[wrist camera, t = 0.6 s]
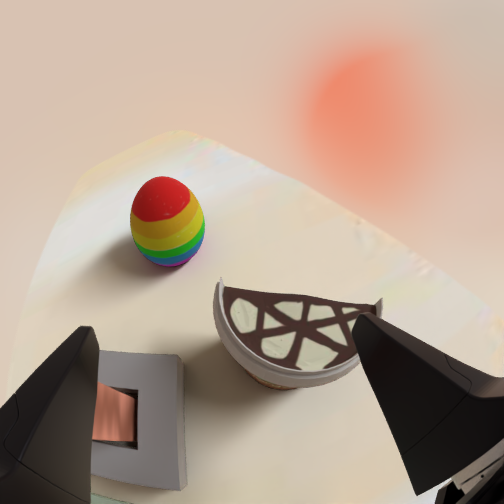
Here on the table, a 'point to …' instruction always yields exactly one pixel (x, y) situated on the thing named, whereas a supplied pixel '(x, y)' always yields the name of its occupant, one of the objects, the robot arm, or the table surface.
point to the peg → (115, 415)
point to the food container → (288, 335)
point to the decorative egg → (167, 222)
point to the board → (104, 500)
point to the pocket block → (146, 421)
